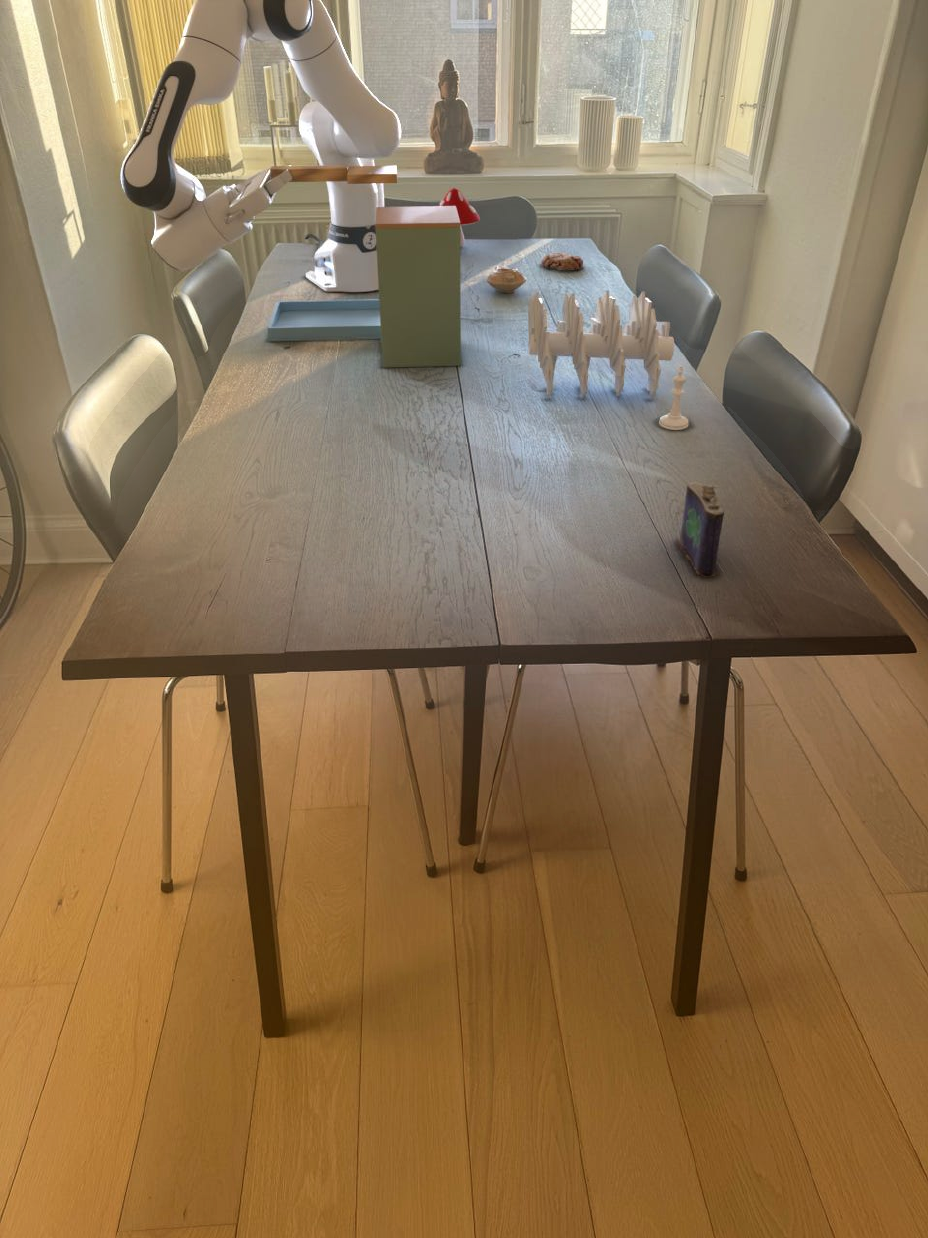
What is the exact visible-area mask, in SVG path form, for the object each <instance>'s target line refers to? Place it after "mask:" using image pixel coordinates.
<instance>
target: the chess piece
mask: <svg viewBox="0 0 928 1238" xmlns="http://www.w3.org/2000/svg"><path fill="white" fill-rule="evenodd" d="M683 368H684V366H683V365H679V369H678V374H677V375H675V376H673V379H672V380H673V383H674V384H673V385H674V388H673V389H671V392H670V393H671V394H672V395H673V401H672V404H671V407H670V411H669V412H668V413H667V414H665V415H662V416H660V418H659V421H658V425H659V427H661V428H664V429H665V430H672V431H679V430H680V431H681V430H685V429H687V428H688V427H689V423H690V422H689V419H688V418H687V417H686V416H683V414H681V396H683V395H685V390H684V389H683V387H684V384H685V383H686V380H687V378H686V377H685V376H684V375H683V372H684V371H683V370H684V369H683Z"/></svg>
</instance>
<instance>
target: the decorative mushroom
mask: <svg viewBox="0 0 928 1238" xmlns="http://www.w3.org/2000/svg"><path fill="white" fill-rule="evenodd" d="M437 206H456V209H457V212H458V216H459V220H460V248H462V247H463V246H464V245H465V244H466V243H465V242H466V240H465V235H464V232H463V228H462V226H470V225H473V224H476V223H478V222H480V220H481V218H480V215H479V214H478V212H477V211H476V209H475V208H474V207H473V206H472V205H471V204H470V203H469V201H468V200H467V199H466V198H465V196H464V195H463V193H462V192H461V190H460V189H458V188H455V187H453V188H450V189H449V190H448V191H447V192H446V193H445V196H444V197H443V198H442V199H441V200H440V202H439V204H438V205H437Z"/></svg>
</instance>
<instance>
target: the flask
mask: <svg viewBox="0 0 928 1238" xmlns="http://www.w3.org/2000/svg"><path fill="white" fill-rule="evenodd" d="M715 488H716V489H717V488H719V484H716V483H713V484H712V483H708V484H705V483H701V482H698V481H693V482H689V483H687V484H686V491H685V498H684V504H683V505H684V507H683V508H684V509H683V512H682V513H683V514H682V520H681V526H680V532H679V539H678V547H679V549H680V550H682V551H683V552H684V555H685V558H686V559H687V560H688V561H691V563H690V564H691V565H692V566H693V569H694V570H695V572H696V574H697V575H699V576H701V577H703V578H705V577H706V578H709V577H713V576H715V574H716V569H717V560H718V554H719V553H718V552H719V546H720V539H721V533H722V530H723V529H722V528H723V521H724V517H725V510H724V508H723V505H722V502H721V500H720V499H719V498H718V495H717V493H716V492H715Z"/></svg>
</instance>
